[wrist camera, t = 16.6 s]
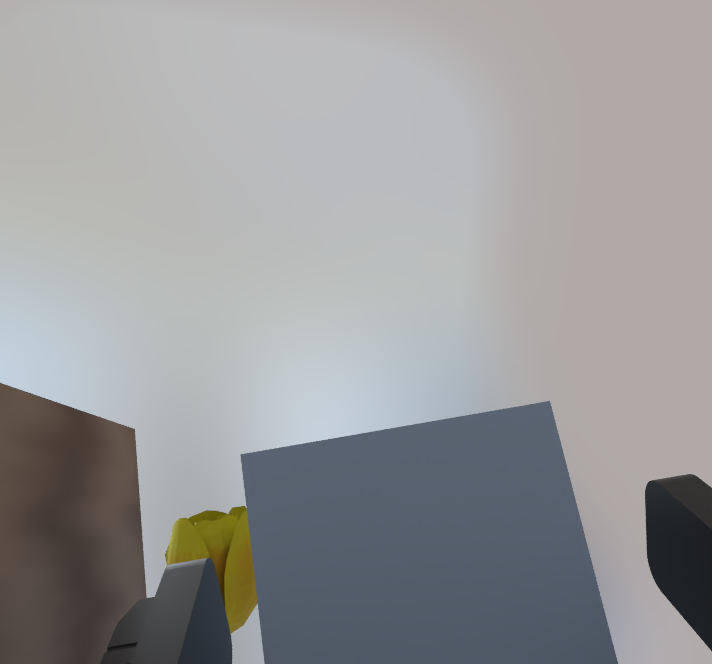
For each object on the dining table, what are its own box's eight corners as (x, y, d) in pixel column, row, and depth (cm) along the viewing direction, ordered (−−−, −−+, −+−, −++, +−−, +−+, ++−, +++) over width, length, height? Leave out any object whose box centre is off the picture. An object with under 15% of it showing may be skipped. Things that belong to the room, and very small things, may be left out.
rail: (739, 1133, 7) (549, 400, 10) (329, 1220, 7) (240, 454, 10) (462, 668, 29) (424, 473, 31) (356, 688, 28) (326, 490, 31)
